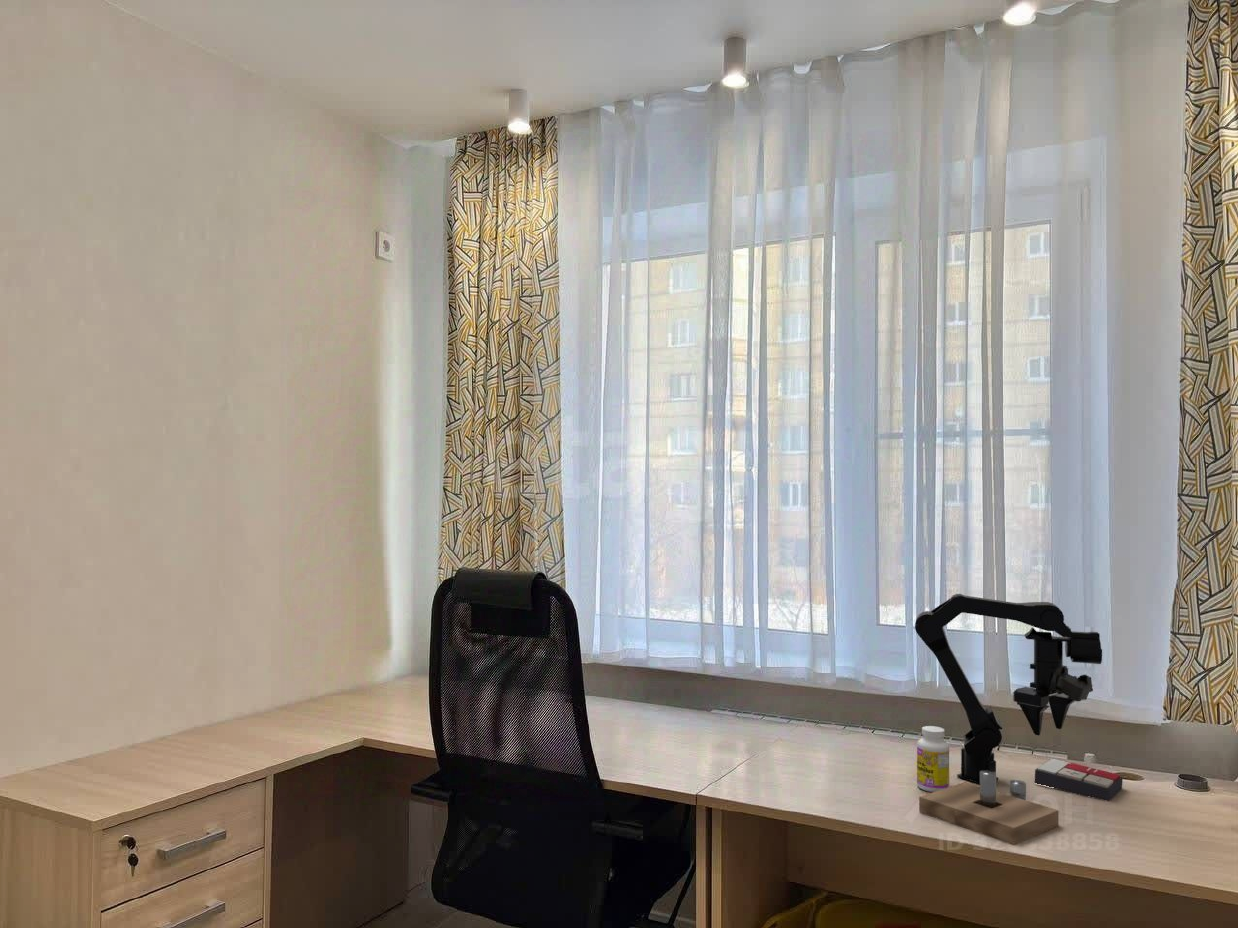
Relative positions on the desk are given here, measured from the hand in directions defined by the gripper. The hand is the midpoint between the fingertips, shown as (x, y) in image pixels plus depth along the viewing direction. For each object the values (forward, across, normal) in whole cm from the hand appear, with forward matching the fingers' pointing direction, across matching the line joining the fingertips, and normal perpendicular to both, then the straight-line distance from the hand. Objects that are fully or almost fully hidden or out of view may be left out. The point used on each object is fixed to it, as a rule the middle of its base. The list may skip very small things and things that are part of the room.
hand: (1048, 731), depth 195 cm
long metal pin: (+12, -29, -3) cm, 31 cm away
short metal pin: (+12, -16, -2) cm, 20 cm away
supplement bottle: (+12, -22, +14) cm, 29 cm away
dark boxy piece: (+13, +6, -4) cm, 14 cm away
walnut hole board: (+12, -29, -3) cm, 31 cm away
